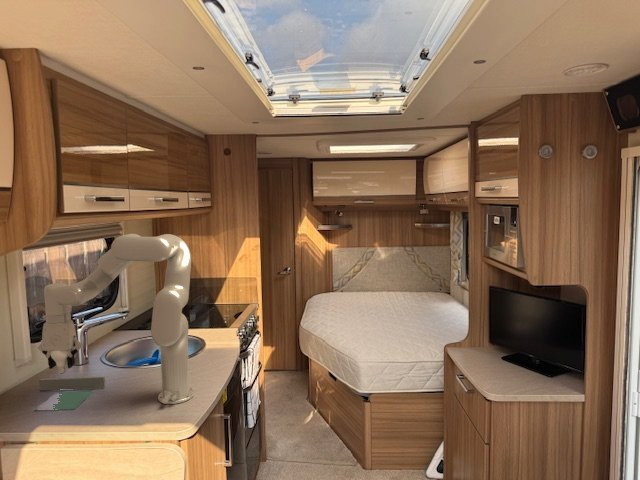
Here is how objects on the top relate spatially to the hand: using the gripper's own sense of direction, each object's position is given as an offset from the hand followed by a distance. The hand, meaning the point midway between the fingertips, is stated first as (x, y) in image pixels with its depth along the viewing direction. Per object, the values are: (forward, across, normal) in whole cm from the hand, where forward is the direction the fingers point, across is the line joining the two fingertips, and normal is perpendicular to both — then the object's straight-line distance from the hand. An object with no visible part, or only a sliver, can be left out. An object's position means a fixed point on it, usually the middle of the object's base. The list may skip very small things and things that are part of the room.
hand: (61, 366), depth 155 cm
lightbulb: (+3, 0, 0) cm, 3 cm away
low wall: (+13, -2, +10) cm, 17 cm away
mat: (+13, 0, 0) cm, 13 cm away
